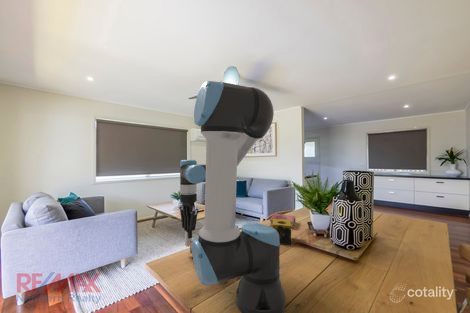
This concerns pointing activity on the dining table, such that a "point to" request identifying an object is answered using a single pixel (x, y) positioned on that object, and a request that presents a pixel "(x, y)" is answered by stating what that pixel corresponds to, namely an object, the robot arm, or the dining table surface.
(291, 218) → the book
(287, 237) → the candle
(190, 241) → the cam capstan
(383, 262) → the dining table surface
